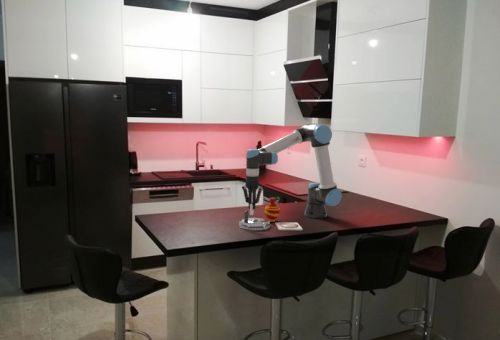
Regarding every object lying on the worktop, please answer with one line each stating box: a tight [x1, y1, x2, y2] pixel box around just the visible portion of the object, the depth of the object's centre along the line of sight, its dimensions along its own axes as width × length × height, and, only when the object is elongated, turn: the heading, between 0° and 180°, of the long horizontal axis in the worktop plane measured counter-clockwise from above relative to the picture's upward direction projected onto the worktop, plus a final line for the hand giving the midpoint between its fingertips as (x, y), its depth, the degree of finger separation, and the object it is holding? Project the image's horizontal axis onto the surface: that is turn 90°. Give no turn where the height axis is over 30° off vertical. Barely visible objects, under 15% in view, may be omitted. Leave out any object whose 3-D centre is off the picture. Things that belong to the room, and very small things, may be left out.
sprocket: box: [238, 210, 270, 228], centre depth 251 cm, size 19×17×9 cm
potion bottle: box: [263, 197, 281, 223], centre depth 266 cm, size 10×10×15 cm
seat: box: [275, 222, 303, 231], centre depth 253 cm, size 14×14×1 cm
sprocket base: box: [238, 223, 271, 232], centre depth 252 cm, size 19×19×1 cm
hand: (251, 214), depth 246 cm, fingers closed
